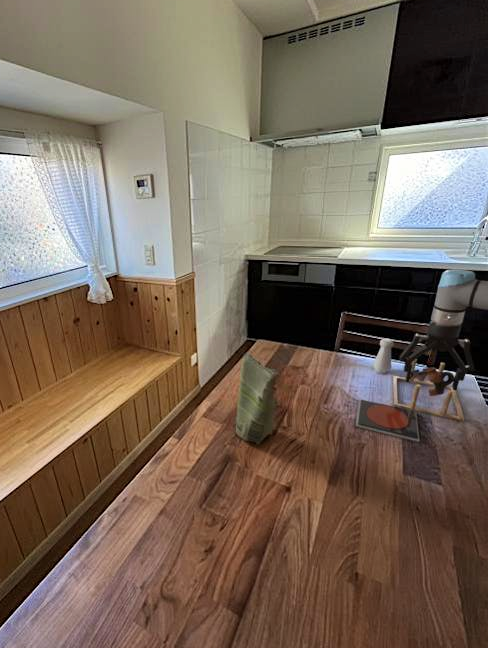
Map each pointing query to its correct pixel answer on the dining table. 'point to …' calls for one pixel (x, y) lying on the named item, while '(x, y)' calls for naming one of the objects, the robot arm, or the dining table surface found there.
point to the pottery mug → (433, 379)
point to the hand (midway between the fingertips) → (430, 384)
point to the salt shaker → (384, 357)
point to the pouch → (255, 400)
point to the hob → (388, 420)
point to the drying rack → (416, 392)
